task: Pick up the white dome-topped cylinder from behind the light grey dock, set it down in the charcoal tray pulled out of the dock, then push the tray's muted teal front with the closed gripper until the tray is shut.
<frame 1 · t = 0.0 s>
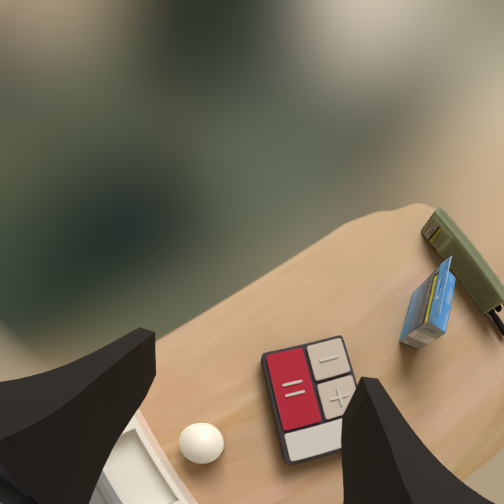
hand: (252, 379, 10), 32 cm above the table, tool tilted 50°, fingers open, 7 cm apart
tray: (74, 496, 28), point 3 cm above the table, slide at 8.0 cm
dock: (130, 476, 33), on the table
label tape box: (414, 320, 44), on the table
handheld radio: (464, 282, 47), on the table
calculator: (312, 401, 39), on the table
white dome-topped cylinder: (205, 441, 36), on the table
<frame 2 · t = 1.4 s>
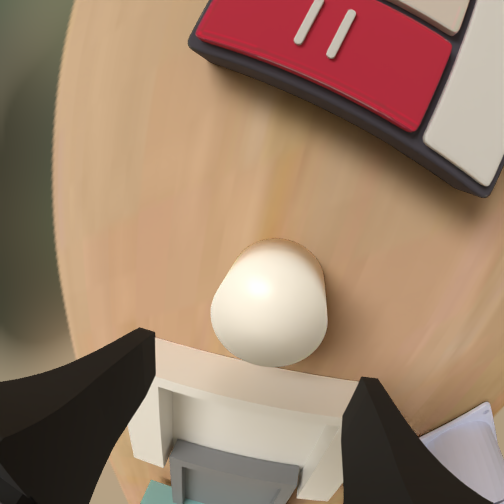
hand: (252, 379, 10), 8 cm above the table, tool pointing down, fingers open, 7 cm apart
tray: (225, 501, 22), point 3 cm above the table, slide at 8.0 cm
dock: (245, 423, 22), on the table
calculator: (378, 33, 13), on the table
white dome-topped cylinder: (277, 283, 18), on the table
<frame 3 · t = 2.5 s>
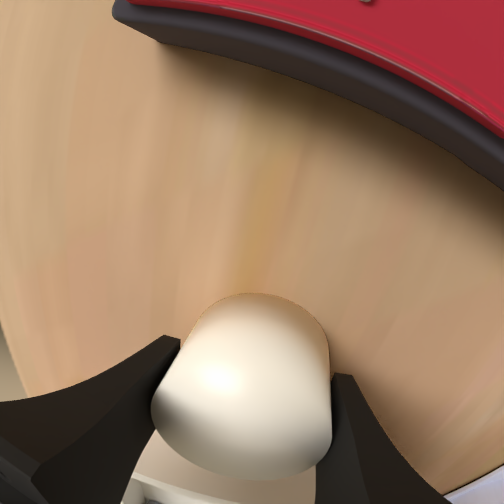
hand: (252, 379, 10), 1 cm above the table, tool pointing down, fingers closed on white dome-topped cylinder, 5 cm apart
dock: (226, 492, 16), on the table
white dome-topped cylinder: (258, 354, 12), on the table, touching gripper
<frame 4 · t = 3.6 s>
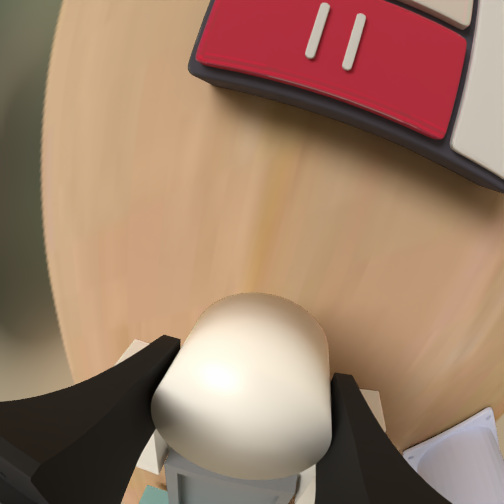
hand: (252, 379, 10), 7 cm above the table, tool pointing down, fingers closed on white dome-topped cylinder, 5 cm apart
dock: (241, 430, 21), on the table
calculator: (383, 32, 12), on the table
white dome-topped cylinder: (258, 354, 12), point 6 cm above the table, touching gripper
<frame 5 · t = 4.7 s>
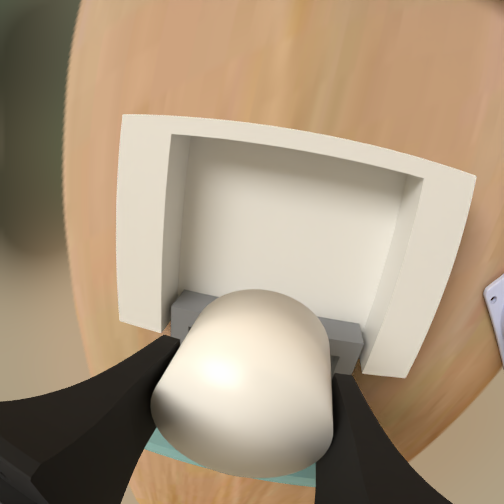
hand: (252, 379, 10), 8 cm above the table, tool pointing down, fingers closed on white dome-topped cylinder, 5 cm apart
tray: (251, 403, 18), point 3 cm above the table, slide at 8.0 cm
dock: (282, 250, 18), on the table
white dome-topped cylinder: (259, 351, 12), point 7 cm above the table, touching gripper
when the fingers open (5 cm above the table, at t = 6.3 s): white dome-topped cylinder drops 1 cm, resting on tray.
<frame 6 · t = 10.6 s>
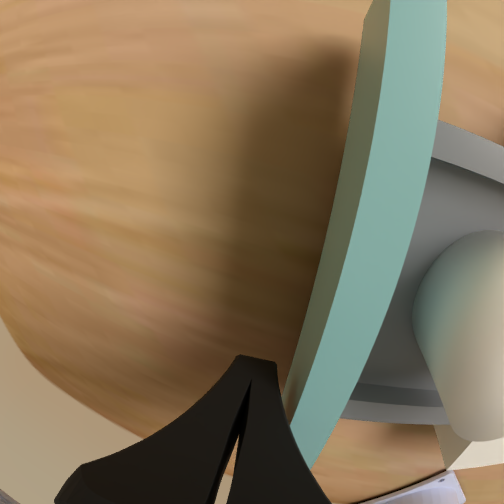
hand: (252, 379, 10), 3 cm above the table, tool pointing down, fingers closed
tray: (486, 316, 8), point 3 cm above the table, slide at 7.0 cm, touching gripper, white dome-topped cylinder
white dome-topped cylinder: (478, 303, 9), point 2 cm above the table, touching tray
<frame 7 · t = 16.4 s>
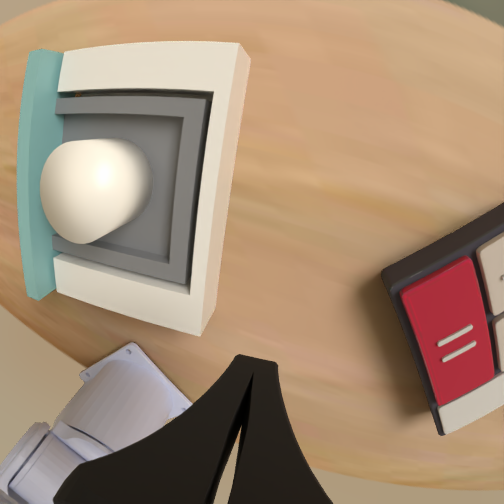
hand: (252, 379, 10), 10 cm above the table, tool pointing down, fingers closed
tray: (102, 183, 17), point 3 cm above the table, slide at 0.0 cm, touching white dome-topped cylinder
dock: (136, 176, 20), on the table
calculator: (472, 317, 20), on the table
white dome-topped cylinder: (115, 181, 18), point 2 cm above the table, touching tray
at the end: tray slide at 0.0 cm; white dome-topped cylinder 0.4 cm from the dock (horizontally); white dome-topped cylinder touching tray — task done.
